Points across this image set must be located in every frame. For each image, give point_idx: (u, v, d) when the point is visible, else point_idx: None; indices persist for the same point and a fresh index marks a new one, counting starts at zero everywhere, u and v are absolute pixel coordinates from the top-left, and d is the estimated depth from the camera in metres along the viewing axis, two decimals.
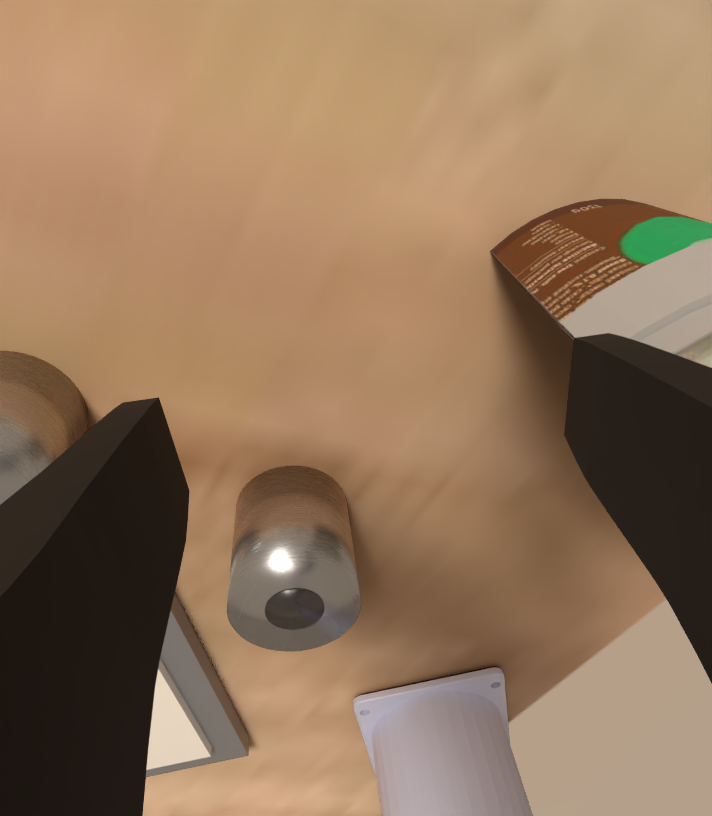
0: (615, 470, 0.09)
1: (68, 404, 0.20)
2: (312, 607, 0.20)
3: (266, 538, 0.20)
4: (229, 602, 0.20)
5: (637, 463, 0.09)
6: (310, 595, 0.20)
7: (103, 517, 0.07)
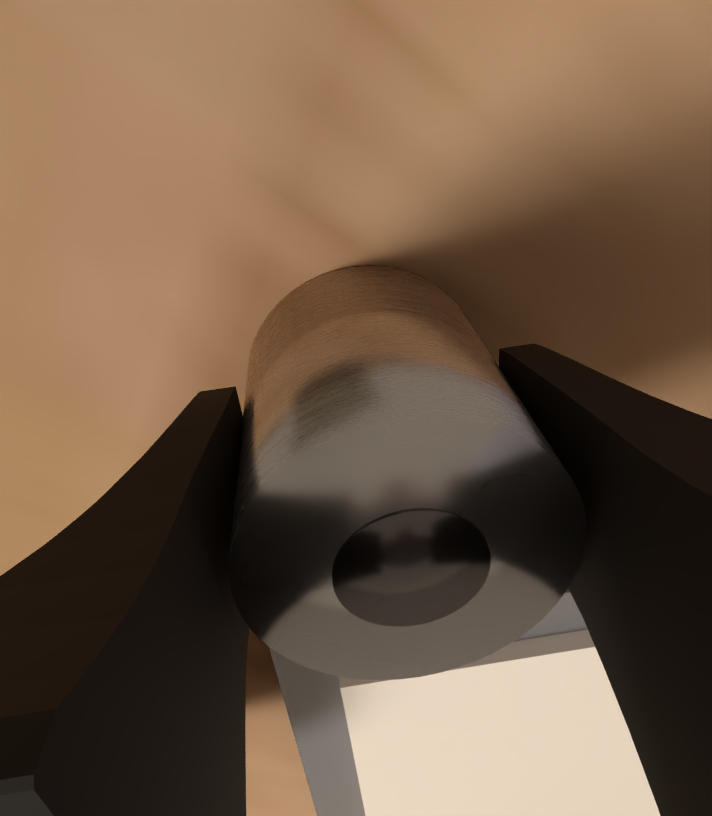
0: None
1: None
2: (413, 537, 0.07)
3: None
4: (354, 675, 0.09)
5: None
6: (365, 539, 0.07)
7: (206, 502, 0.07)
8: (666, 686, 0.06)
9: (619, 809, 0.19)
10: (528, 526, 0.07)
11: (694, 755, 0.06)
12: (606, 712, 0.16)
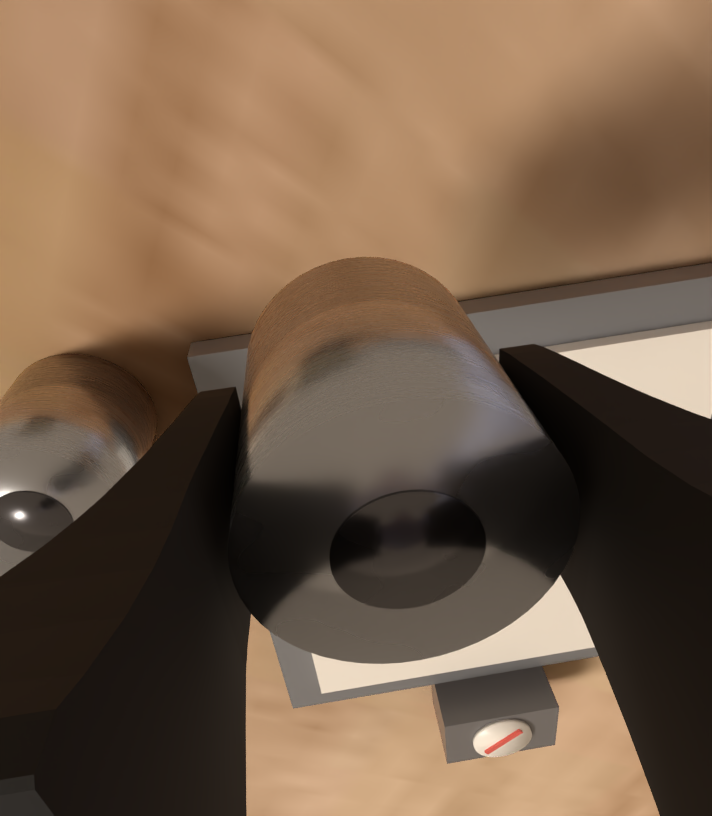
0: None
1: (36, 373, 0.17)
2: (408, 518, 0.07)
3: None
4: (355, 659, 0.09)
5: None
6: (361, 522, 0.07)
7: (206, 501, 0.07)
8: (666, 686, 0.06)
9: None
10: (522, 506, 0.07)
11: (694, 755, 0.06)
12: None
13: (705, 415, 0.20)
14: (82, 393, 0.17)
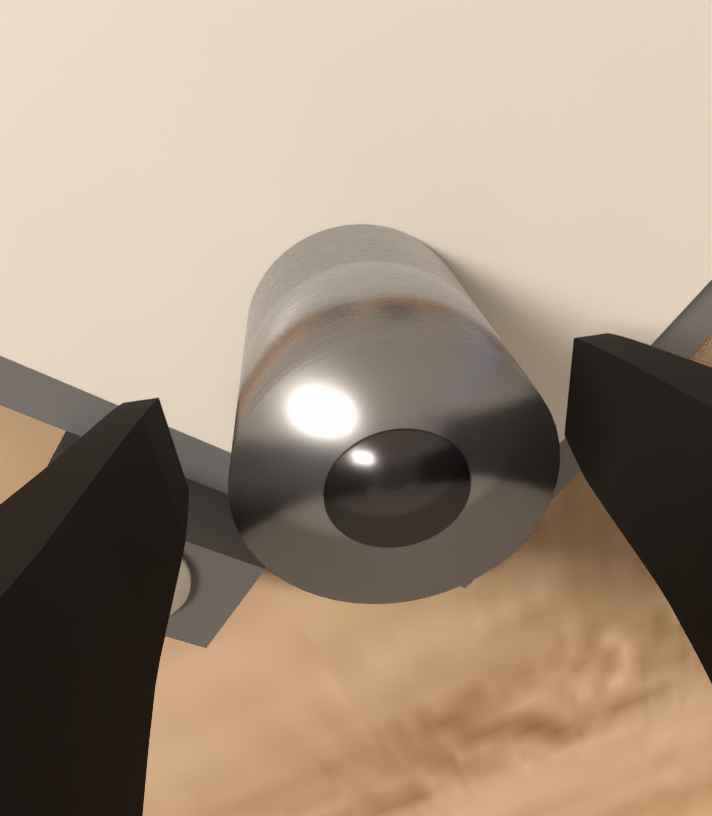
0: (615, 470, 0.09)
1: None
2: (397, 457, 0.08)
3: None
4: (349, 599, 0.09)
5: (637, 463, 0.09)
6: (353, 459, 0.08)
7: (103, 517, 0.07)
8: None
9: (372, 203, 0.11)
10: (504, 446, 0.08)
11: None
12: None
13: None
14: None
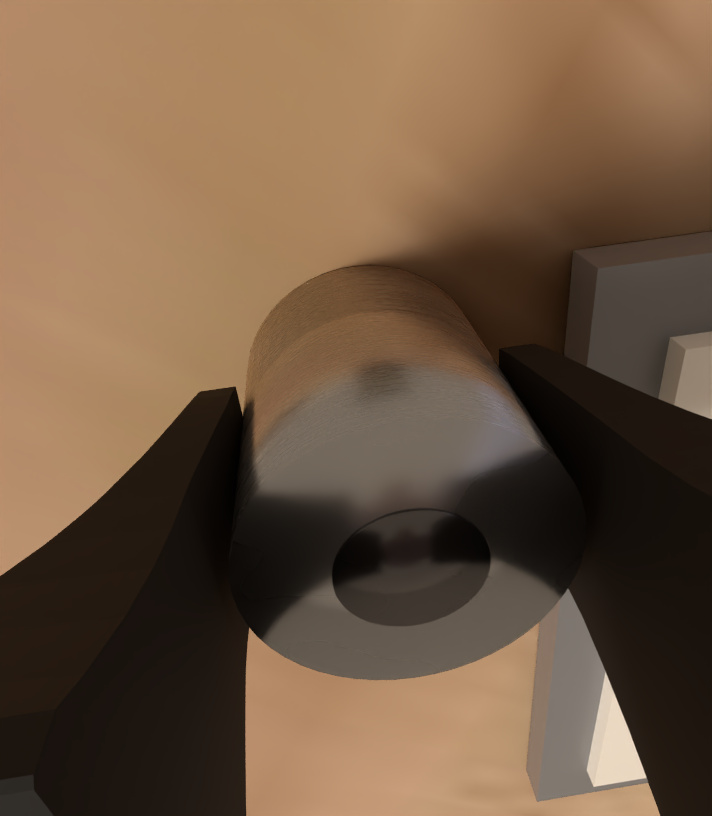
0: None
1: (326, 296, 0.10)
2: None
3: None
4: None
5: None
6: None
7: (206, 502, 0.07)
8: (666, 686, 0.06)
9: None
10: None
11: (695, 755, 0.06)
12: None
13: None
14: (433, 319, 0.09)
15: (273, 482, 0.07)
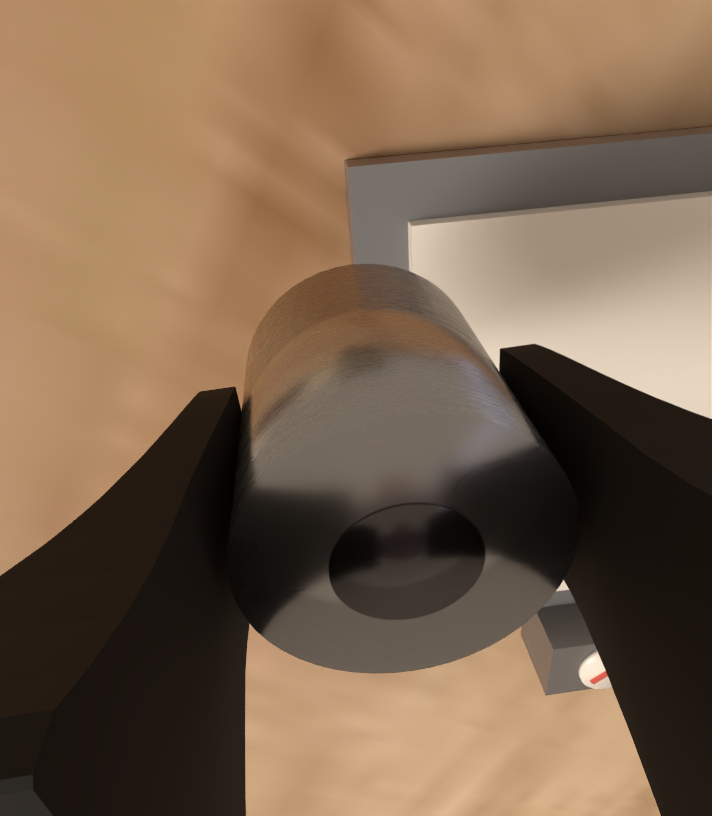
0: None
1: (322, 294, 0.10)
2: None
3: None
4: None
5: None
6: None
7: (205, 502, 0.07)
8: (667, 686, 0.06)
9: None
10: None
11: (695, 755, 0.06)
12: (645, 304, 0.18)
13: None
14: (428, 316, 0.09)
15: (269, 476, 0.07)
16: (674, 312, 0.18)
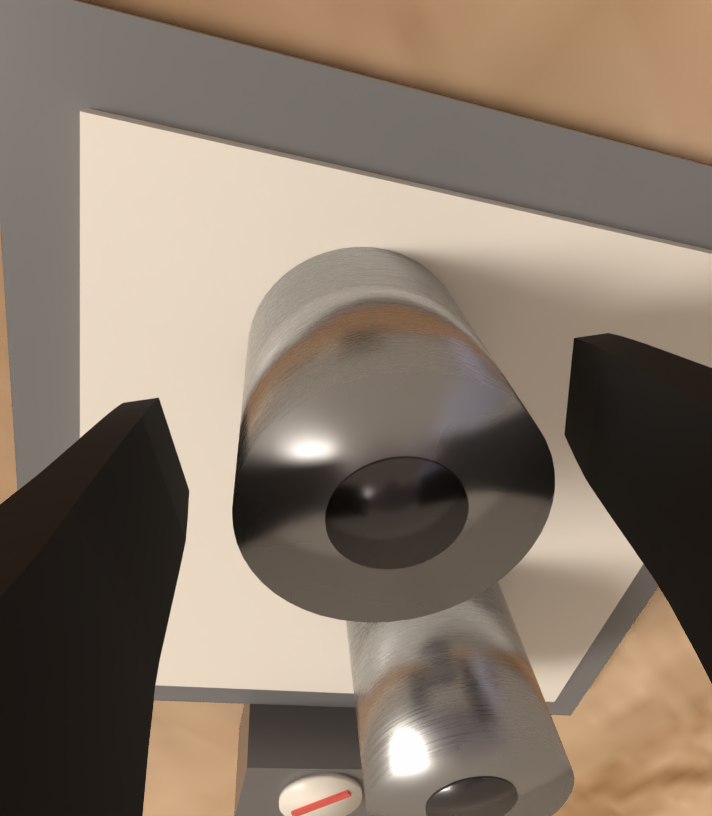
0: (615, 470, 0.09)
1: (314, 276, 0.11)
2: (463, 792, 0.13)
3: None
4: None
5: (637, 463, 0.09)
6: (437, 799, 0.13)
7: (103, 517, 0.07)
8: None
9: None
10: (529, 769, 0.12)
11: None
12: None
13: None
14: (411, 291, 0.10)
15: (266, 436, 0.07)
16: None
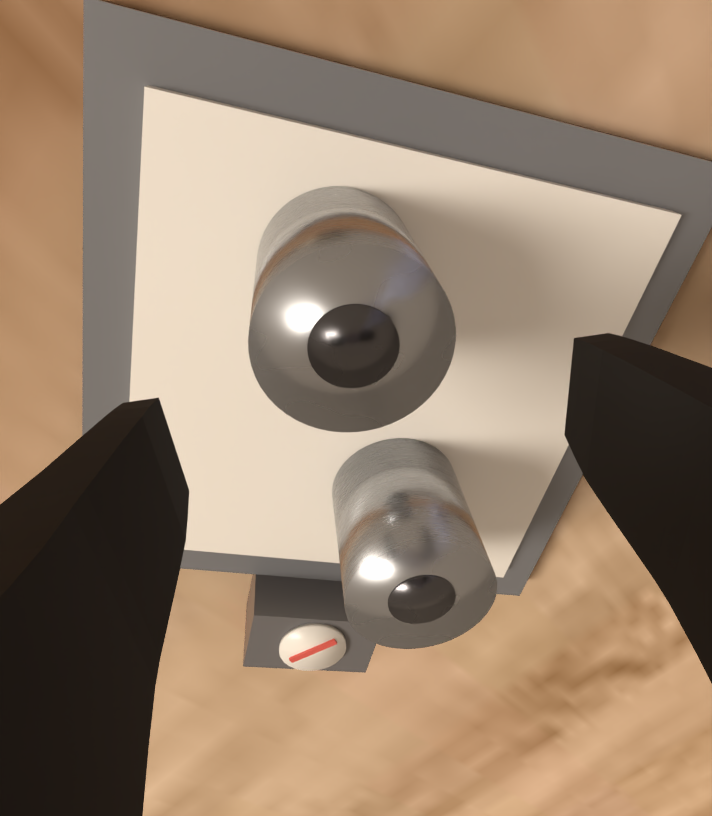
0: (615, 470, 0.09)
1: (302, 204, 0.15)
2: (415, 588, 0.17)
3: None
4: (420, 646, 0.19)
5: (637, 463, 0.09)
6: (396, 594, 0.17)
7: (103, 517, 0.07)
8: None
9: (378, 431, 0.20)
10: (462, 570, 0.17)
11: None
12: None
13: (625, 317, 0.19)
14: (367, 210, 0.14)
15: (268, 287, 0.12)
16: None
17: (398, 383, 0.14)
